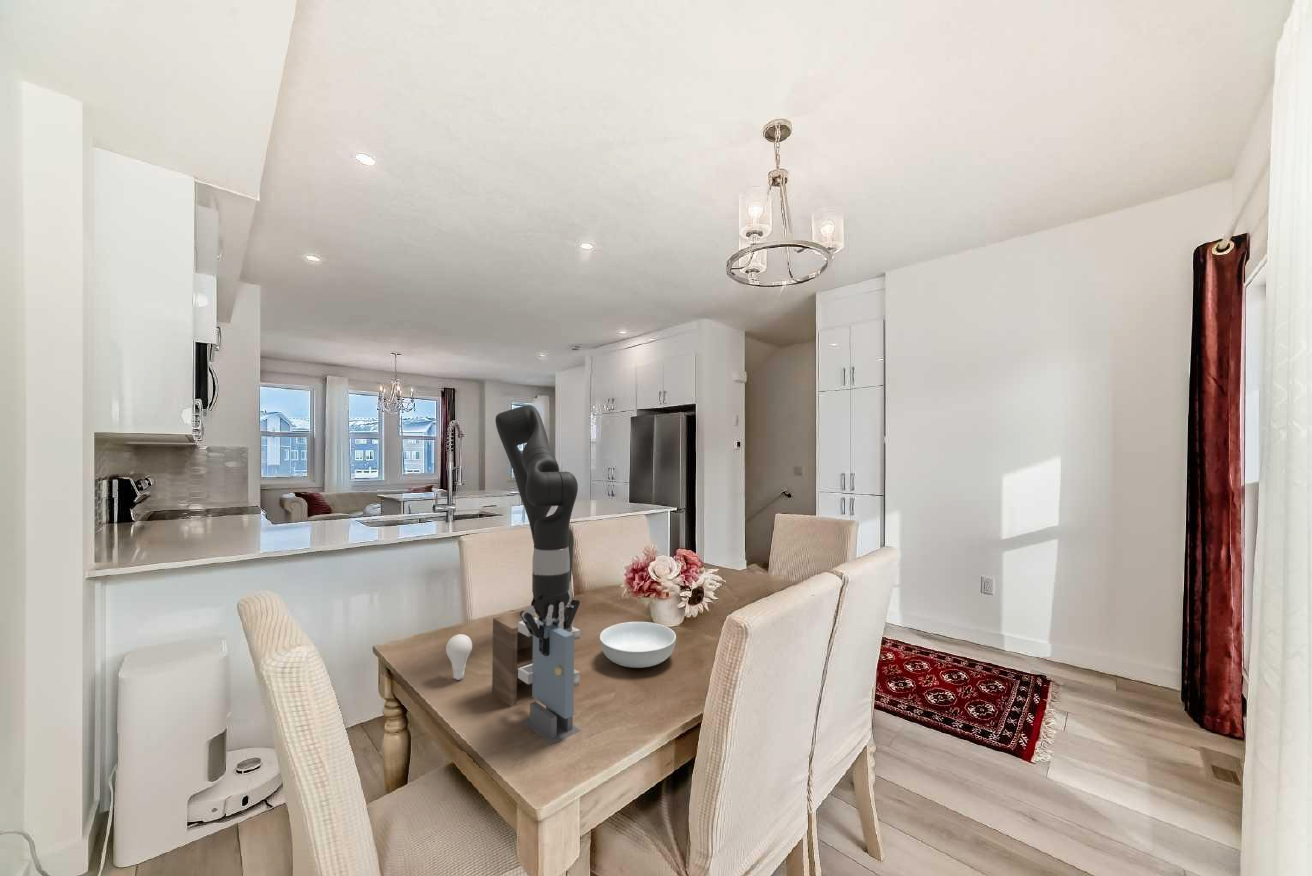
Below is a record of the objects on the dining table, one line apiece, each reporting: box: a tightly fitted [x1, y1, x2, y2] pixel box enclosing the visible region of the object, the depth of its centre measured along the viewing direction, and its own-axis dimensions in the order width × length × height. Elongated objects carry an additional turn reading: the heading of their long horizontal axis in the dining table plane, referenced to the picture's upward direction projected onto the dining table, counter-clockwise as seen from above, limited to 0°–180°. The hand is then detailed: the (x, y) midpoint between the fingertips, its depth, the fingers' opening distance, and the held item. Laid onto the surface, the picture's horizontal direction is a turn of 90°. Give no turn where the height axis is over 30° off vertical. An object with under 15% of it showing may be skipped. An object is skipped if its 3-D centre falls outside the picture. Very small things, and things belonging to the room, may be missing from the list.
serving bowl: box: [599, 621, 677, 669], centre depth 139 cm, size 21×21×7 cm
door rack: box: [521, 701, 582, 746], centre depth 104 cm, size 7×11×5 cm, turn 45°
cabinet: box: [491, 609, 581, 707], centre depth 120 cm, size 17×11×18 cm, turn 135°
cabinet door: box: [518, 618, 575, 719], centre depth 106 cm, size 4×16×16 cm, turn 45°
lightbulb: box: [445, 633, 473, 681], centre depth 126 cm, size 6×6×11 cm
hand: (550, 652), depth 105 cm, fingers closed on cabinet door, 2 cm apart
